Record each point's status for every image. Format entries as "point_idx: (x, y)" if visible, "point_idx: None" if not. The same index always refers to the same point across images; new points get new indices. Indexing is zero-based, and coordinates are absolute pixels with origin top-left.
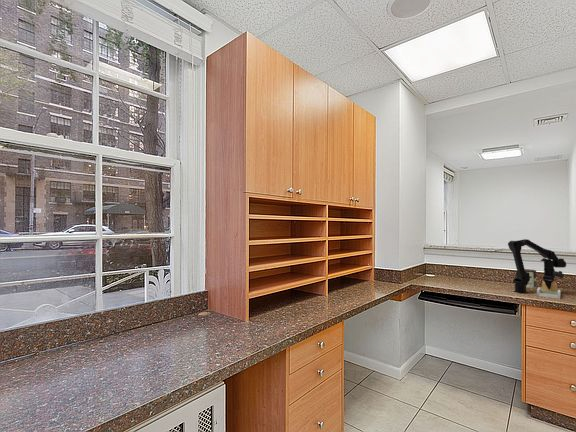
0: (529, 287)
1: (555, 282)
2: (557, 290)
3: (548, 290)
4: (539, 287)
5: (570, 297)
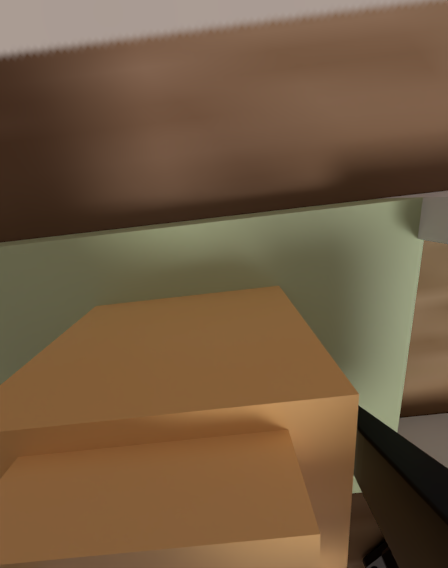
0: None
1: (195, 542)
2: (171, 283)
3: None
4: None
5: (421, 21)
